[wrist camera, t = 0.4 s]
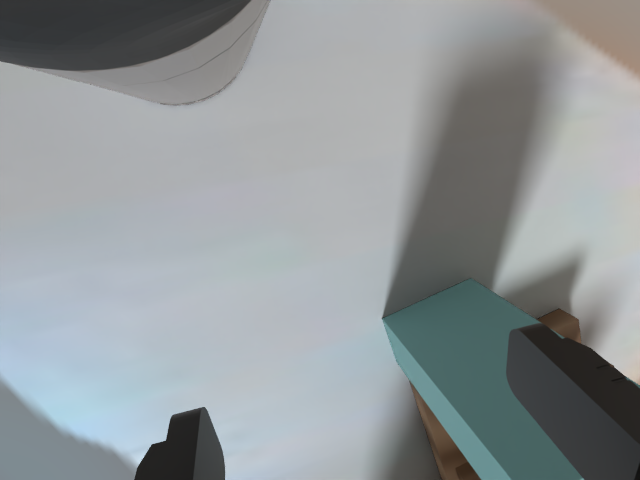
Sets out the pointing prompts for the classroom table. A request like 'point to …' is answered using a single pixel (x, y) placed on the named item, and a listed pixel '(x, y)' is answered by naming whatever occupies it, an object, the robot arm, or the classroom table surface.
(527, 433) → the book
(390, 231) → the classroom table surface
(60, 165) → the classroom table surface
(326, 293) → the classroom table surface
